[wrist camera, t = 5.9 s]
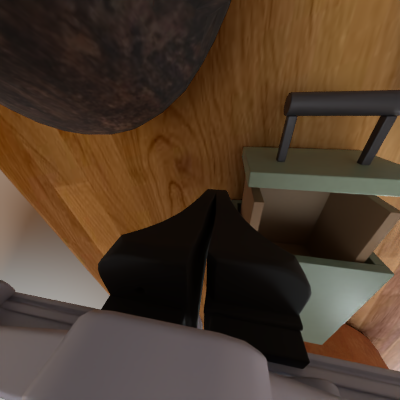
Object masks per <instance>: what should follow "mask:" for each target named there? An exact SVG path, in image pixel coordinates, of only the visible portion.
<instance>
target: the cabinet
mask: <svg viewBox="0 0 400 400" xmlns="http://www.w3.org/2000/svg"><path fill="white" fill-rule="evenodd" d="M231 201H232V203H233V204H234V206H235V207H236V209H237V210H238V212H239V213H240V211H241V204H242V200H231ZM294 256H295V257H296V258H297V260H298V262H299V264H300V265H301V267H302V269H303V271H304V273H305V275H306V277H307V279H308V282H309V284H310V286H311V292H312V294H311V296H310V299H309V301H308V302H307V304H306V305H305V307H304V308H303V310H302V311H301V313H300V314H299V315H300V318H301V322H302V325H303V330H302V331H301V334H302V338H303V341H304V342H309V343H314V344H319V345H322V344H323V343H324V342H325V341H326V340H327V339H328V338H330V337H331V336H332V335H333V334H334V333H335V332H336V331H337V330H338V329H339V328H340V327H341V326H342V325H343V324H344V323H345V322H346V321H347V320H348V319H349V318H350V317H351V316H352V315H353V314H354V313H355V312H356V311H357V310H359V309H360V308H361V307H362V306H363V305H364V304H365V303H366V302H367V301H368V300H369V299H370V298H371V297H372V296H373V295H374V294H375V293H376V292H377V291H378V290H379V289H380V288H381V287H382V286H383V285H384V284H385V283H387V282H388V281H389V280H390V279H391V278H392V277H393V276H394V273H393V272H392V271H391V270H390V269H389V268H388V267H387V266H386V265H385V264H384V263H383V262H382V261H381V260H380V259H379V258H378V257H377V256H376V254H375V253H374V252H372V254H371V255H370V256H369V257H368V258H367V260H366V261H365V262H364V263H357V262H349V261H341V260H333V259H324V258H316V257H308V256H300V255H294Z"/></svg>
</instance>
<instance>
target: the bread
mask: <svg viewBox="0 0 400 400" xmlns="http://www.w3.org/2000/svg"><path fill="white" fill-rule="evenodd" d="M304 344H305V348H306V351H307V353H312V354H317V355H322V356H327V357H332V358H336V359H341V360H346V361H351V362H356V363H361V364H365V365H370V366H375V367H380V368H385V369H388V367H387V365H386V364H385V362H384V361H383V359H382V358H381V356H380V354H379V352H378V350H377V349H376V348H375V346H374V345H373V344H372V343H371V341H370V340H369V339H368V338H367V337H366V336H364V335H363V334H362V333H360V332H359V331H357V330H355V329H354V328H352V327H350V326H349V325H347V324H345V323H344V324H343V325H342V326H341V327H340V328H339V329H338V330H337V331H336V332H335V333H334V334H333V335H332V336H331V337H330V338H328V339H327V340H326V341H325V342H324V343H323V344H322V345H319V344H314V343H309V342H304Z"/></svg>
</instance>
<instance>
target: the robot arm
mask: <svg viewBox="0 0 400 400" xmlns="http://www.w3.org/2000/svg"><path fill="white" fill-rule="evenodd" d="M206 259H207V288H206V298H205V305H204V330H203V329H202V321H201V319H200V315H199V310H200V302H201V294H202V287H203V280H204V272H205V265H206ZM98 271H99V274H100V277H101V279H102V280H103V282H104V284H105V286H106V288H107V289H108V291H109V293H110V296H109V298H108V299H107V301H106V303H105V304H104V306H103V307H102V309H101V310H100V309H95V308H90V307H85V306H80V305H76V304H71V303H66V302H61V301H56V300H51V299H46V298H42V297H37V296H32V295H27V294H22V293H17V292H15V290H14V289H13V288H12V287H11V286H10V285H9V284H8V283H6V282H4V281H2V280H0V398H2V399H5V400H400V372H399V371H394V370H390V369H385V368H380V367H375V366H370V365H365V364H361V363H356V362H351V361H346V360H341V359H336V358H332V357H327V356H322V355H317V354H312V353H307V351H306V348H305V344H304V341H303V338H302V334H301V331H302V330H303V325H302V322H301V318H300V315H299V314H300V313H301V311H302V310H303V308H304V307H305V305H306V304H307V302H308V301H309V299H310V296H311V294H312V292H311V286H310V284H309V282H308V279H307V277H306V275H305V273H304V271H303V269H302V267H301V265H300V264H299V262H298V260H297V258H296V257H295V256H294V255H292V254H291V253H289V252H287V251H286V250H284V249H282V248H281V247H279V246H277V245H276V244H274V243H273V242H271V241H270V240H268V239H267V238H265V237H264V236H263V235H261V234H260V233H259V232H258V231H256V230H255V229H254V228H253V227H252V226H251V225H250V224H249V223H248V222H247V221H246V220H245V219H244V218H243V217H242V216H241V214H240V213H239V212H238V210H237V209H236V207H235V206H234V204H233V203H232V201H231V199H230V197H229V195H228V192H227V191H226V190H214V189H207V190H206V191H205V192H204V193H203V194H202V195H201V196H200V197H199V198H198V199H197V200H196V201H195V202H194V203H192V204H191V205H190V206H189V207H187V208H186V209H185V210H183V211H182V212H180V213H178V214H177V215H175V216H173V217H171V218H169V219H167V220H165V221H163V222H160V223H158V224H155V225H153V226H150V227H147V228H144V229H141V230H138V231H134V232H131V233H127V234H123V235H122V236H121V237H120V238H119V239H118V240H117V241H116V242H115V244H114V245H113V246H112V247H111V248H110V249H109V251H108V252H107V253H106V254H105V255H104V257H103V258H102V259H101V261H100V262H99V264H98Z"/></svg>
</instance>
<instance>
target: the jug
mask: <svg viewBox="0 0 400 400" xmlns="http://www.w3.org/2000/svg"><path fill="white" fill-rule="evenodd" d="M230 2H231V0H0V104H1V105H3V106H5V107H7V108H9V109H11V110H13V111H15V112H17V113H19V114H21V115H23V116H25V117H27V118H30V119H32V120H34V121H36V122H38V123H41V124H44V125H48V126H51V127H54V128H57V129H60V130H63V131H68V132H74V133H81V134H115V133H120V132H124V131H128V130H132V129H135V128H137V127H139V126H141V125H143V124H145V123H146V122H148V121H149V120H151V119H153V118H154V117H156V116H157V115H159V114H161V113H162V112H163V111H164V110H165V109H167V108H168V107H169V106H170V105H171V104H172V103H173V102H174V101H175V100H176V99H177V98H178V97H179V96H180V95H181V94H182V93H183V92H184V91H185V90H186V89H187V87H188V85H189V84H190V82H191V81H192V79H193V78H194V76H195V74H196V73H197V71H198V70H199V68H200V67H201V65H202V63H203V62H204V60H205V58H206V56H207V54H208V52H209V50H210V48H211V46H212V44H213V42H214V40H215V38H216V36H217V33H218V31H219V29H220V26H221V24H222V22H223V20H224V17H225V15H226V13H227V10H228V8H229V5H230Z"/></svg>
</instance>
